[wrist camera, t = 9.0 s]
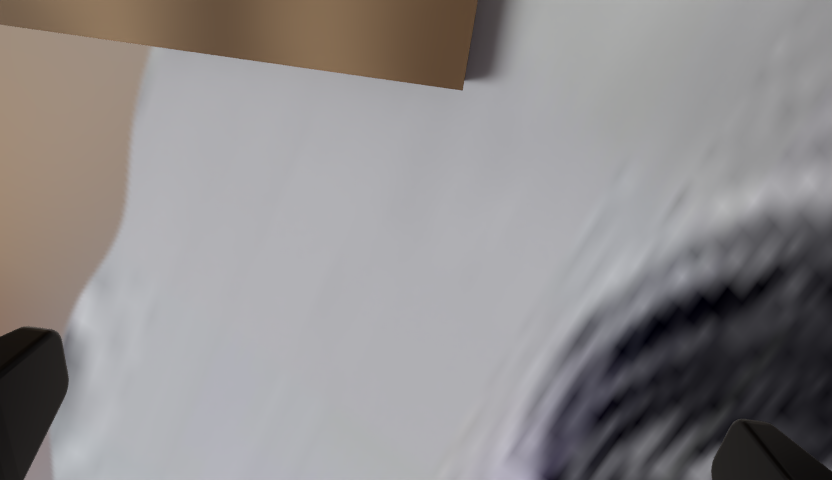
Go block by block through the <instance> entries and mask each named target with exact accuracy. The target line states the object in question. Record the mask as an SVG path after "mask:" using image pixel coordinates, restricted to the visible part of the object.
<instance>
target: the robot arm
mask: <svg viewBox="0 0 832 480" xmlns="http://www.w3.org/2000/svg"><path fill="white" fill-rule="evenodd" d="M68 382H69V378H68V371H67V366H66V360H65V354H64V349H63V343H62V339H61V336H60V335H59V333H58V332H57V331H55V330H52V329H45V328H37V327H21V328H19V329H16V330H14V331H12V332H10V333H7V334H5V335H3V336H1V337H0V480H24V478H25V476H26V474H27V472H28V470H29V468H30V466H31V464H32V462H33V460H34V458H35V456H36V454H37V452H38V450H39V448H40V446H41V444H42V442H43V440H44V438H45V436H46V434H47V432H48V430H49V428H50V426H51V424H52V422H53V420H54V418H55V416H56V414H57V412H58V410H59V408H60V406H61V404H62V402H63V400H64V397H65V395H66V392H67V389H68ZM711 473H712V480H832V471H831V470H829V469H828V468H827V467H826V466H824V465H823V464H822V463H820V462H819V461H818V460H817V459H815V458H814V457H813V456H812V455H810V454H809V453H808V452H806V451H805V450H804V449H803V448H801V447H800V446H799V445H798V444H796V443H795V442H794V441H792V440H791V439H790V438H789V437H787V436H786V435H785V434H784V433H782V432H781V431H780V430H778V429H777V428H776V427H775V426H773V425H772V424H770V423H767V422H763V421H756V420H748V419H738V420H736V421H735V422H733V423H732V425H731V426H730V428H729V430H728V432H727V434H726V436H725V438H724V440H723V442H722V444H721V446H720V448H719V450H718V451H717V453H716V455H715V457H714V460H713V463H712V469H711Z"/></svg>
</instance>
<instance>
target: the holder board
mask: <svg viewBox="0 0 832 480" xmlns="http://www.w3.org/2000/svg"><path fill="white" fill-rule="evenodd" d="M477 2H478V0H0V24H1V25H8V26H15V27H22V28H29V29H36V30H43V31H50V32H58V33H64V34H71V35H78V36H85V37H93V38H99V39H106V40H113V41H120V42H127V43H135V44H141V45H148V46H155V47H162V48H169V49H176V50H183V51H190V52H197V53H204V54H211V55H218V56H225V57H232V58H239V59H246V60H253V61H260V62H267V63H274V64H281V65H288V66H295V67H302V68H309V69H316V70H323V71H330V72H337V73H344V74H351V75H358V76H365V77H372V78H379V79H386V80H393V81H400V82H407V83H414V84H421V85H428V86H435V87H442V88H449V89H456V90H463V85H464V79H465V73H466V67H467V61H468V55H469V49H470V43H471V38H472V32H473V26H474V20H475V14H476V8H477Z"/></svg>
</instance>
